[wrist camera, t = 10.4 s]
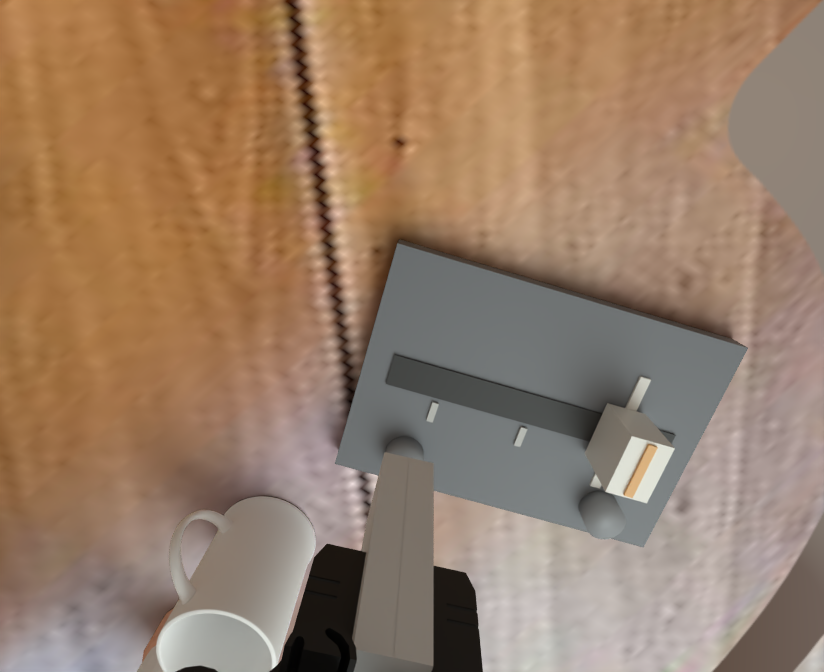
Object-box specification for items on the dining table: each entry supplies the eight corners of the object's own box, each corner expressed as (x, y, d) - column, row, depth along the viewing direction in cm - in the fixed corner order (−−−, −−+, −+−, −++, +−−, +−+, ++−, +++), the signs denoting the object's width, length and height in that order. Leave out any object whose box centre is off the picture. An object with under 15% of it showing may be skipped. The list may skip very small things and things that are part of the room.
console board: (399, 239, 38) (395, 247, 34) (732, 339, 40) (765, 357, 36) (339, 450, 44) (330, 478, 40) (634, 531, 45) (653, 565, 41)
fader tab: (607, 403, 39) (633, 437, 34) (645, 413, 39) (676, 449, 34) (584, 453, 41) (606, 493, 36) (621, 463, 41) (648, 505, 36)
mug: (180, 486, 45) (97, 595, 34) (267, 450, 44) (210, 550, 33) (250, 588, 48) (195, 719, 37) (333, 557, 47) (302, 683, 36)
